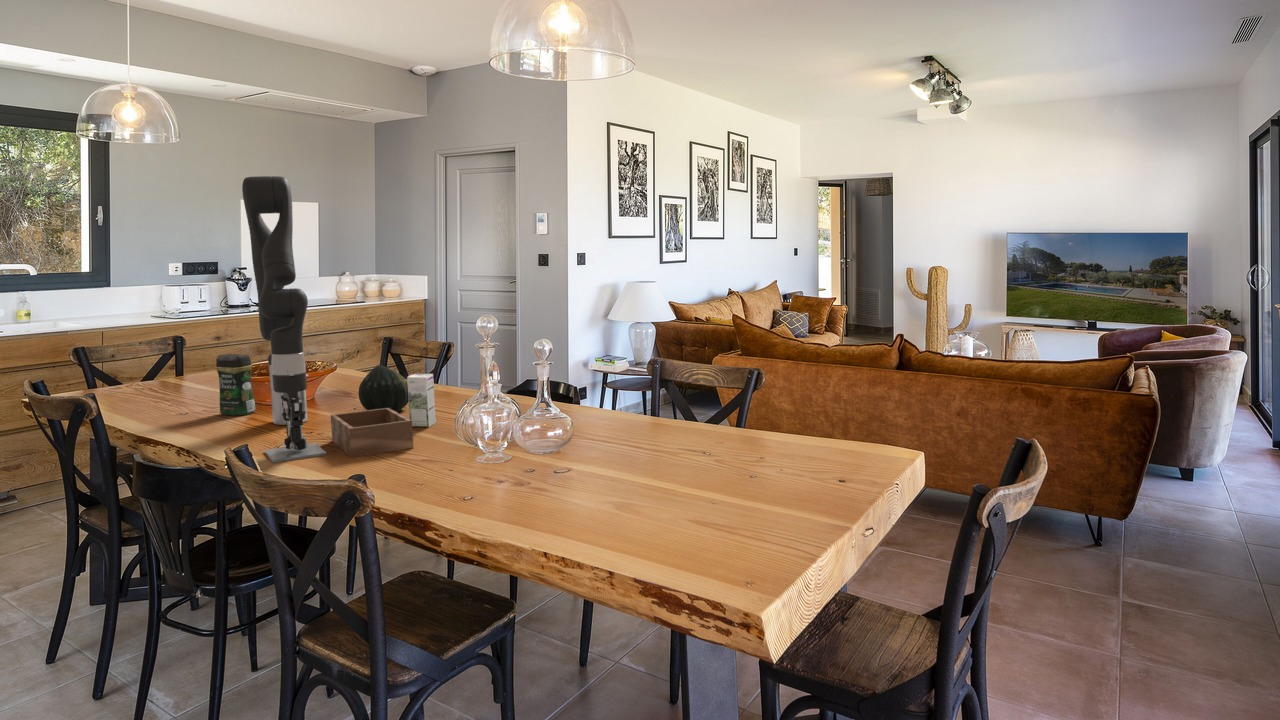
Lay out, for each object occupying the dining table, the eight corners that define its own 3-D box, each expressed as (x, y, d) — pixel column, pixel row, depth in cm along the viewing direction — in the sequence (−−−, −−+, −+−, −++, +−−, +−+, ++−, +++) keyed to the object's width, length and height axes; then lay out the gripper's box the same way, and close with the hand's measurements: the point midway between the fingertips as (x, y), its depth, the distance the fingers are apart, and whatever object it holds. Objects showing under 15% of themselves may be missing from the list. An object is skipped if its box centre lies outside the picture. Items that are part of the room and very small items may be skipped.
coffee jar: (215, 415, 241) (209, 355, 238) (235, 410, 248) (230, 351, 246) (240, 417, 238) (235, 356, 235) (260, 411, 246) (255, 352, 243)
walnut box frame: (332, 441, 206) (330, 414, 205) (389, 433, 215) (388, 407, 214) (351, 457, 190) (349, 428, 189) (413, 447, 198) (411, 420, 197)
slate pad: (264, 452, 196) (264, 449, 196) (315, 445, 202) (315, 442, 202) (273, 462, 186) (272, 460, 186) (326, 454, 192) (326, 452, 192)
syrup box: (436, 423, 226) (433, 373, 224) (429, 427, 220) (426, 376, 218) (417, 422, 227) (414, 373, 225) (409, 427, 221) (406, 376, 219)
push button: (275, 450, 193) (272, 410, 191) (290, 444, 198) (287, 405, 196) (298, 452, 191) (295, 411, 190) (312, 446, 196) (310, 407, 195)
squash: (399, 399, 234) (404, 357, 242) (348, 402, 234) (355, 360, 242) (411, 422, 246) (416, 381, 254) (363, 425, 245) (370, 384, 254)
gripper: (267, 369, 195) (272, 436, 197) (277, 376, 183) (283, 448, 186) (299, 366, 199) (304, 432, 202) (311, 373, 187) (316, 443, 190)
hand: (294, 439), depth 194 cm, fingers closed on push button, 5 cm apart
